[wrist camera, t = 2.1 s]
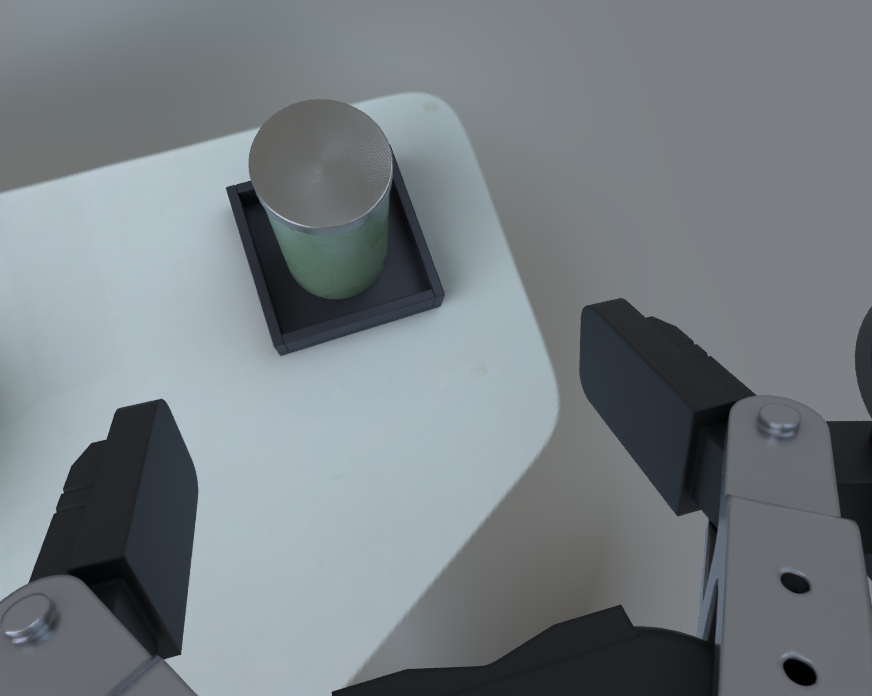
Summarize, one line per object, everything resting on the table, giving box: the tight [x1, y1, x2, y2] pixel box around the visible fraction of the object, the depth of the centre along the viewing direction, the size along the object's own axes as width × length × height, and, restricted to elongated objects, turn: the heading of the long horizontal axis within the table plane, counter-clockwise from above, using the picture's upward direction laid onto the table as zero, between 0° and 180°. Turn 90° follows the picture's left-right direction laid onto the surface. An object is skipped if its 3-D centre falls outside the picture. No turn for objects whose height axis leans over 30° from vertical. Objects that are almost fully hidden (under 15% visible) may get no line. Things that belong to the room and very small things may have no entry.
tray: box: [226, 145, 445, 356], centre depth 32 cm, size 9×9×2 cm
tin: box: [249, 100, 393, 299], centre depth 28 cm, size 5×5×9 cm
